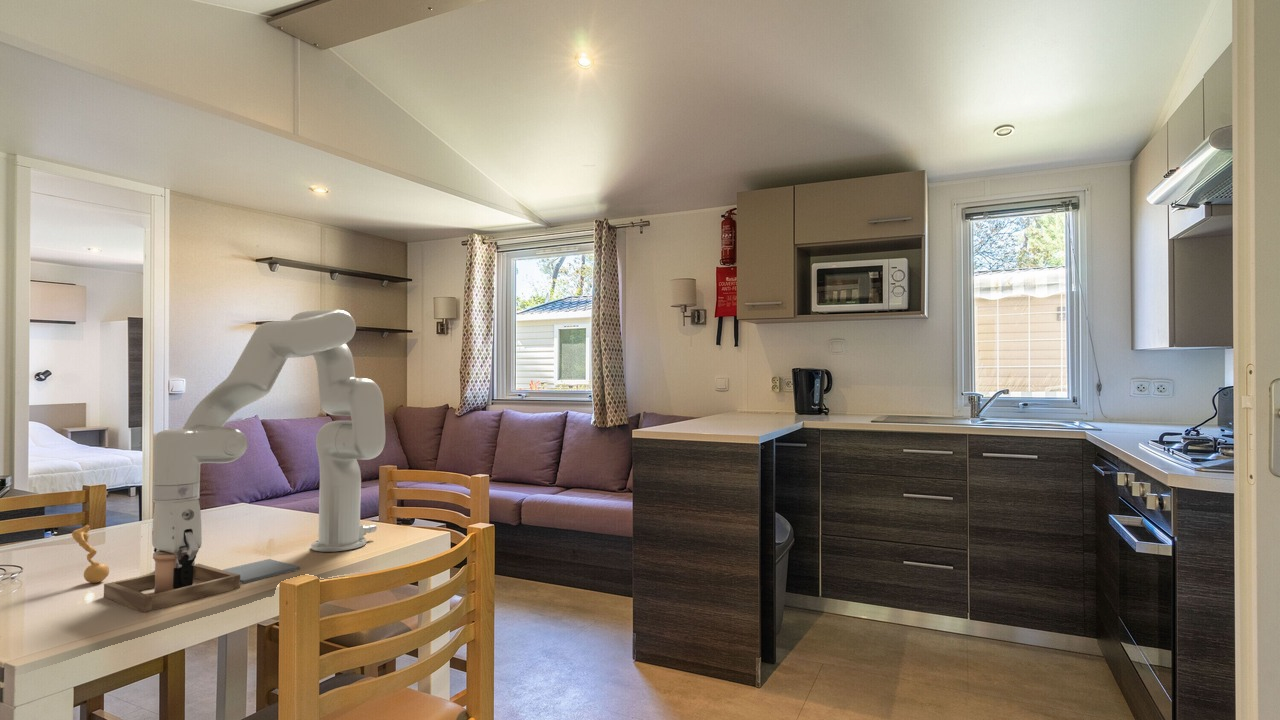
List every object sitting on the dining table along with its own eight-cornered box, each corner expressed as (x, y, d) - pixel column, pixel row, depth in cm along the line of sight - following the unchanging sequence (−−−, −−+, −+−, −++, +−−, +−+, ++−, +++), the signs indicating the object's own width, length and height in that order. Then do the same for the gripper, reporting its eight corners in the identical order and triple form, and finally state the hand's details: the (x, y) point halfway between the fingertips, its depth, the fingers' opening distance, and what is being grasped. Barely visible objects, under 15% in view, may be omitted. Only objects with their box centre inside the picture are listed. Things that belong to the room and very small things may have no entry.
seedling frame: (198, 575, 136) (198, 563, 136) (240, 587, 128) (240, 574, 128) (103, 597, 122) (104, 584, 122) (143, 612, 114) (144, 598, 114)
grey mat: (269, 561, 147) (269, 558, 147) (299, 569, 141) (300, 566, 141) (212, 574, 136) (212, 571, 136) (243, 583, 130) (243, 580, 130)
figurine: (111, 584, 130) (113, 525, 130) (72, 591, 125) (74, 530, 126) (105, 576, 135) (107, 519, 136) (67, 582, 131) (69, 523, 131)
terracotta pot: (184, 585, 129) (185, 544, 130) (201, 590, 126) (202, 549, 126) (144, 594, 124) (146, 552, 124) (161, 600, 120) (163, 557, 120)
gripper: (220, 493, 124) (217, 586, 124) (176, 486, 133) (173, 573, 132) (176, 499, 118) (173, 597, 117) (133, 491, 127) (130, 582, 126)
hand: (173, 583), depth 125 cm, fingers open, 6 cm apart
